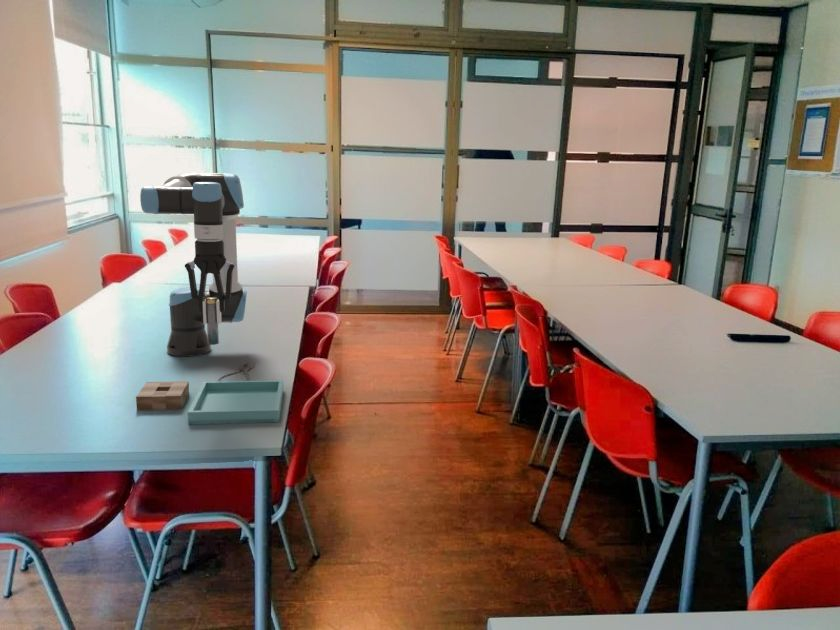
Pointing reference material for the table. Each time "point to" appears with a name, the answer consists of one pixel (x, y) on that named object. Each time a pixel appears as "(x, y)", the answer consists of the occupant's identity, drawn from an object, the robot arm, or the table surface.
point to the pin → (212, 321)
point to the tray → (237, 402)
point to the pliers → (242, 368)
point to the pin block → (162, 395)
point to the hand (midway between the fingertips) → (212, 322)
